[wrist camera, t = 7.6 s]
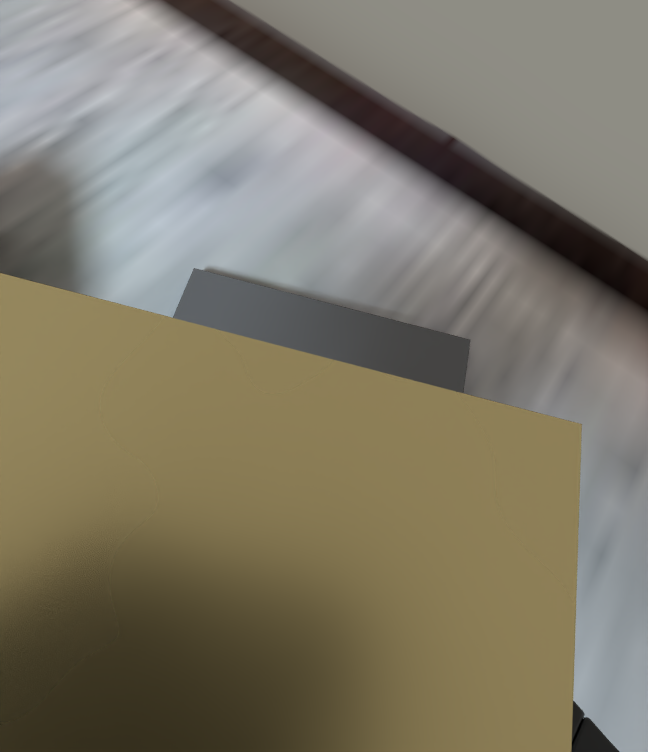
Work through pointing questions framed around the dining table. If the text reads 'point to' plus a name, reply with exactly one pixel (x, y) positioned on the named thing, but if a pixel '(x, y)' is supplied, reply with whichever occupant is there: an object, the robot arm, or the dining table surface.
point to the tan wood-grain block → (270, 547)
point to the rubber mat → (325, 330)
